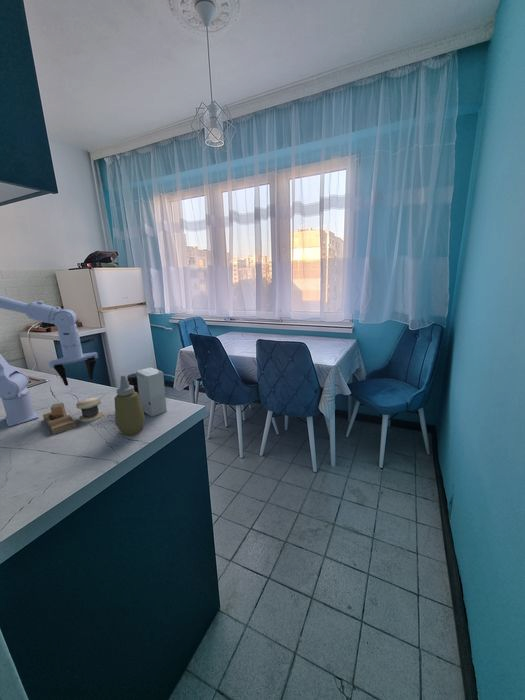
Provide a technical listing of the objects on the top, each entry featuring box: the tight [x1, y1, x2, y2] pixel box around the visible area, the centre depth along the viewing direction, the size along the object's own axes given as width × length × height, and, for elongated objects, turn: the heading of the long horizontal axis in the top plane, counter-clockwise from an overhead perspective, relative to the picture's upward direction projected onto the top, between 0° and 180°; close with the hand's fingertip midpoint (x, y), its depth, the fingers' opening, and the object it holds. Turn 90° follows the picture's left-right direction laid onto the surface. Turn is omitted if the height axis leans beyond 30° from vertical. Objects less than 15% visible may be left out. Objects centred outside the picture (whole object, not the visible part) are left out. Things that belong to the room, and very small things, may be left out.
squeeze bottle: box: [113, 374, 146, 437], centre depth 86 cm, size 8×8×18 cm
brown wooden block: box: [50, 402, 67, 420], centre depth 96 cm, size 3×3×6 cm
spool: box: [75, 397, 104, 423], centre depth 98 cm, size 7×7×6 cm
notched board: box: [42, 410, 77, 435], centre depth 95 cm, size 14×6×2 cm, turn 46°
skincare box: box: [136, 366, 168, 417], centre depth 100 cm, size 8×6×15 cm
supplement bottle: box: [126, 373, 139, 395], centre depth 104 cm, size 7×7×12 cm
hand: (78, 381), depth 103 cm, fingers open, 7 cm apart
